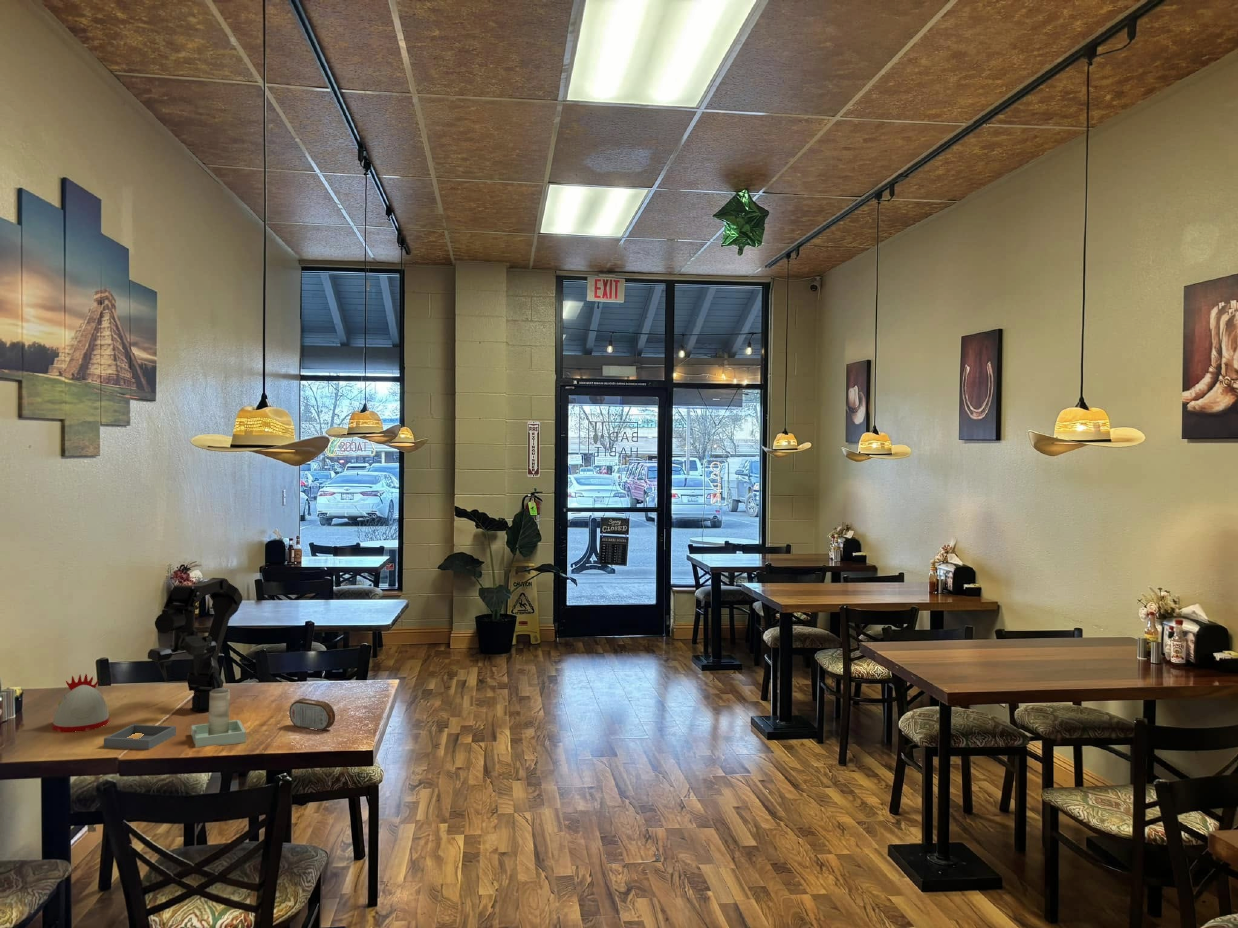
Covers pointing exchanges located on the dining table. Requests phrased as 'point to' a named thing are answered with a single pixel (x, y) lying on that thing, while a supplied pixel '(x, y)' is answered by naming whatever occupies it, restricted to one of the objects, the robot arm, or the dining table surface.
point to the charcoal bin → (146, 742)
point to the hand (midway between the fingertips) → (182, 678)
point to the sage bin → (232, 737)
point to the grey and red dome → (81, 708)
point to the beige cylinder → (218, 711)
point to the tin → (312, 714)
